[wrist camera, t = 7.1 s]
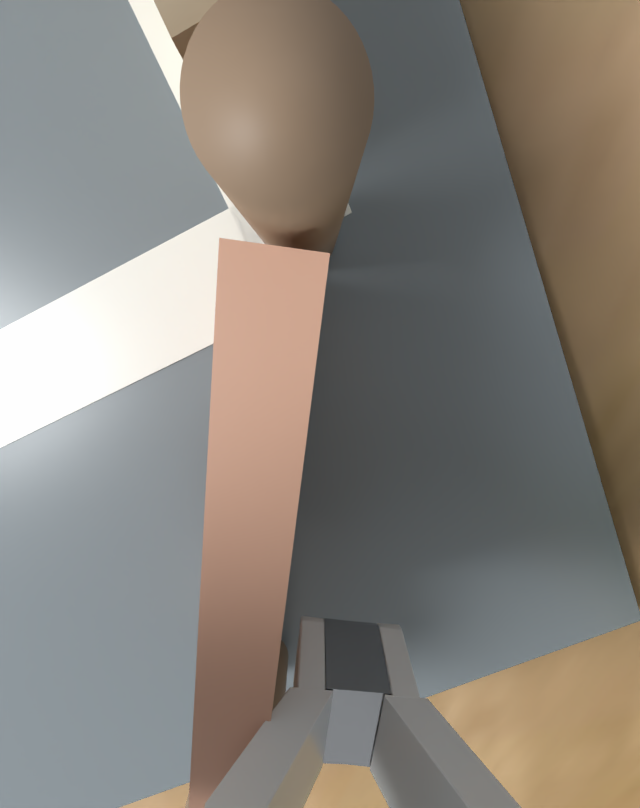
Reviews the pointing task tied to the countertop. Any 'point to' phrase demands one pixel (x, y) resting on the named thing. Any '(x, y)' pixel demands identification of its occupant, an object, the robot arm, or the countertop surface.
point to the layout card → (330, 406)
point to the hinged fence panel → (264, 327)
